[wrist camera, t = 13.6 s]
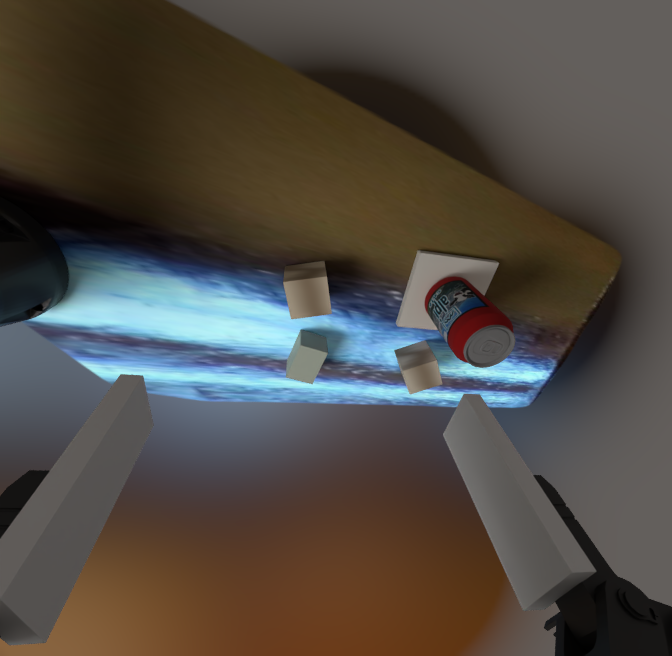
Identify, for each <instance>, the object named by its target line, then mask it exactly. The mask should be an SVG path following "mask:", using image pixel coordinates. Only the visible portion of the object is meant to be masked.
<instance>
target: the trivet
mask: <svg viewBox="0 0 672 656" xmlns="http://www.w3.org/2000/svg"><path fill="white" fill-rule="evenodd" d="M498 265H499V263H498V262H497V261H495V260H488V259H481V258H473V257H466V256H458V255H451V254H443V253H435V252H428V251H420V250H418V252H417V255H416V258H415V262H414V265H413V268H412V272H411V275H410V278H409V281H408V285H407V288H406V291H405V295H404V298H403V301H402V304H401V308H400V311H399V314H398V318H397V321H396V324H397V326H399V327H410V328H421V329H432V330H438V329H437V327H436V326H435V324H434V323H433V321H432V320H431V318H430V317H429V315H428V313H427V312H426V310H425V298H426V295H427V293H428V291H429V290H430V288H431V287H432V286H433V285H434V284H435V283H437V282H438V281H440V280H442V279H444V278H447V277H454V276H455V277H461V278H464V279H466V280H467V281H468V282H470V283H471V284H472V285H473V286H474V287H475V288H476V289H477V290H479V291H480V292H481V293H482V294H483V295H484V296H485V293H486V291H487V289H488V287H489V285H490V282H491V280H492V278H493V276H494V274H495V271H496V269H497V267H498Z"/></svg>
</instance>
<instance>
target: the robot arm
mask: <svg viewBox="0 0 672 656" xmlns="http://www.w3.org/2000/svg"><path fill="white" fill-rule="evenodd" d="M68 280H69V276H68V268H67V265H66V261H65V259H64V256H63V254H62V252H61V250H60V249H59V247H58V245H57V244H56V242H55V241H54V239H53V238H52V237H51V236H50V234H49V233H48V232H47V231H46V230H45V229H44V228H43V227H42V226H41V225H40V224H39V223H38V222H37V221H36V220H35V219H34V218H33V217H31V216H30V215H29V214H28V213H26V212H25V211H24V210H22V209H21V208H19V207H18V206H16V205H15V204H13V203H11V202H9V201H8V200H6V199H4V198H2V197H0V327H2V326H6V325H9V324H13V323H16V322H21V321H25V320H28V319H32V318H34V317H37V316H39V315H41V314H43V313H44V312H46V311H47V310H49V309H50V308H51V307H53V306H54V305H55V304H57V303H58V302H59V301H60V300H61V299H62V298H63V296H64V294H65V292H66V290H67V287H68ZM153 425H154V424H153V420H152V415H151V410H150V406H149V402H148V396H147V392H146V387H145V382H144V378H143V376H140V375H123V374H121V375H120V376H119V377H118V379H117V380H116V382H115V383H114V384H113V386H112V387H111V388H110V390H109V391H108V392H107V394H106V395H105V397H104V398H103V399H102V401H101V402H100V403H99V405H98V406H97V408H96V409H95V410H94V412H93V413H92V414H91V416H90V417H89V418H88V420H87V421H86V423H85V424H84V425H83V427H82V428H81V429H80V431H79V432H78V433H77V435H76V436H75V438H74V439H73V440H72V442H71V443H70V444H69V446H68V447H67V449H66V450H65V451H64V453H63V454H62V455H61V457H60V458H59V459H58V461H57V462H56V464H55V465H54V466H53V467H52V469H51V470H50V471H34V470H31V471H28V472H27V473H26V474H24V475H23V476H22V477H20V478H19V479H18V480H17V481H15V482H14V483H13V484H11V485H10V486H9V487H8V488H7V489H6V490H5V491H4V492H3V493H2V495H1V496H0V638H1V639H2V640H3V641H5V642H6V643H7V644H9V645H21V644H35V643H46V641H47V639H48V637H49V635H50V633H51V631H52V629H53V627H54V625H55V623H56V621H57V619H58V617H59V615H60V613H61V611H62V609H63V607H64V605H65V603H66V601H67V599H68V597H69V595H70V593H71V591H72V589H73V587H74V584H75V583H76V580H77V578H78V577H79V574H80V573H81V571H82V568H83V566H84V565H85V562H86V560H87V558H88V556H89V554H90V552H91V550H92V548H93V546H94V544H95V542H96V540H97V538H98V536H99V534H100V532H101V530H102V528H103V526H104V524H105V522H106V520H107V518H108V516H109V514H110V512H111V510H112V508H113V506H114V504H115V502H116V500H117V498H118V496H119V494H120V492H121V490H122V488H123V486H124V484H125V482H126V480H127V478H128V476H129V473H130V472H131V470H132V468H133V466H134V464H135V462H136V460H137V458H138V456H139V454H140V452H141V450H142V448H143V446H144V444H145V442H146V440H147V437H148V436H149V434H150V432H151V430H152V428H153ZM443 436H444V438H445V440H446V442H447V445H448V447H449V449H450V451H451V454H452V456H453V458H454V460H455V462H456V464H457V467H458V469H459V471H460V473H461V475H462V478H463V480H464V482H465V484H466V486H467V489H468V491H469V493H470V495H471V497H472V499H473V502H474V504H475V506H476V508H477V511H478V513H479V515H480V517H481V519H482V521H483V524H484V526H485V528H486V530H487V532H488V535H489V537H490V539H491V541H492V543H493V546H494V548H495V550H496V552H497V554H498V556H499V559H500V561H501V563H502V565H503V567H504V570H505V572H506V574H507V576H508V578H509V581H510V583H511V585H512V587H513V589H514V592H515V594H516V596H517V598H518V600H519V603H520V605H521V607H522V609H523V611H527V610H542V609H546V608H547V607H549V606H550V605H551V604H553V603H554V602H556V604H557V606H558V608H559V610H560V612H559V613H558V614H556V615H555V616H553V617H552V618H550V619H549V620H547V621H546V623H545V626H544V628H545V629H546V630H547V631H548V630H550V629H551V628H553V627H555V626H556V632H555V633H554V636H555V637H556V644H555V645H556V646H555V656H672V607H671V606H668V605H665V604H662V603H660V602H657V601H654V600H651V599H648V597H647V596H646V595H645V594H644V593H643V592H642V591H641V590H640V589H638V588H637V587H636V586H634V585H633V584H632V583H631V582H629V581H627V580H625V579H623V578H620V577H618V576H617V575H616V574H615V573H614V572H613V571H612V569H611V568H610V567H609V565H608V564H607V563H606V561H605V560H604V558H603V557H602V555H601V554H600V552H599V551H598V550H597V548H596V547H595V545H594V544H593V542H592V541H591V540H590V538H589V537H588V535H587V534H586V532H585V531H584V530H583V528H582V527H581V525H580V524H579V522H578V521H577V520H575V518H574V515H573V514H572V512H571V511H570V509H569V508H568V507H566V504H565V502H564V501H563V499H562V498H561V497H560V495H559V494H558V492H557V491H556V490H555V488H554V487H553V486H552V485H551V484H550V483H548V482H547V481H546V480H545V479H544V478H543V477H542V476H541V475H532V473H531V471H530V470H529V469H528V467H527V465H526V464H525V462H524V461H523V459H522V458H521V456H520V455H519V453H518V452H517V450H516V449H515V447H514V446H513V444H512V443H511V441H510V440H509V438H508V437H507V435H506V434H505V432H504V431H503V429H502V428H501V426H500V425H499V423H498V422H497V420H496V419H495V417H494V416H493V414H492V412H491V411H490V409H489V408H488V406H487V405H486V403H485V402H484V400H483V399H482V397H481V396H480V395H478V394H464V395H463V397H462V398H461V400H460V402H459V404H458V406H457V408H456V410H455V412H454V414H453V416H452V418H451V420H450V422H449V424H448V426H447V428H446V430H445V432H444V434H443Z"/></svg>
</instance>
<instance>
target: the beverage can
mask: <svg viewBox="0 0 672 656" xmlns="http://www.w3.org/2000/svg"><path fill="white" fill-rule="evenodd" d="M425 310H426V312H427V313H428V315H429V317H430V318H431V320H432V321H433V323H434V324H435V326H436V327H437V329H438V330H439V332H440V333H441V335H442V336H443V338H444V339H445V341H446V342H447V344H448V345H449V347H450V348H451V350H452V351H453V352H454V354H455V355H456V357H457V358H459V359H460V360H462V361H464V362H467V363H469V364H471V365H472V366H475V367H480V368H484V367H490V366H493V365H496V364H498V363H500V362H501V361H503V360H504V359H505V358H506V357H507V356H508V355H509V354H510V353H511V352H512V350H513V348H514V345H515V336H514V334H513V326H512V323H511V321H510V320H509V319H508V318H507V317H506V316H505V315H504V314H503V313H502V312H501V311H500V310H499V309H498V308H497V307H496V306H495V305H494V304H493V303H492V302H490V301H489V300H488V299H487V298H486V297H485V296H484V295H483V294H482V293H481V292H480V291H479V290H477V289H476V288H475V287H474V286H473V285H472V284H471V283H470V282H468V281H467V280H466V279H464V278H461V277H455V276H454V277H447V278H444V279H442V280H440V281H438V282H437V283H435V284H434V285H433V286H432V287H431V288H430V290H429V291H428V293H427V295H426V298H425Z"/></svg>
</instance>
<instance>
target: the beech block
mask: <svg viewBox="0 0 672 656" xmlns="http://www.w3.org/2000/svg"><path fill="white" fill-rule="evenodd" d="M283 283H284V288H285V292H286V297H287V302H288V306H289V311H290V316H291V319H297V318H305V317H312V316H319V315H327V314H332V313H331V305H330V297H329V289H328V281H327V274H326V268H325V262H324V261H320V262H312V263H304V264H297V265H289V266H285V273H284V281H283Z"/></svg>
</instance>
